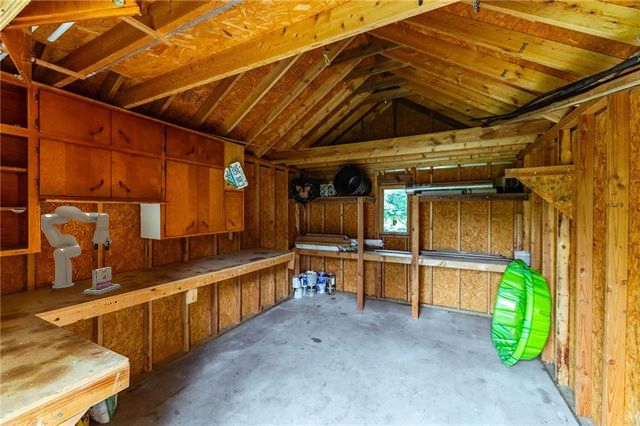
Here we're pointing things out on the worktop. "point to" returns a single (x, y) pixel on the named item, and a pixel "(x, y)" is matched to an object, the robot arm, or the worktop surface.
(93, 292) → the light blue tray
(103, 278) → the candy bar box
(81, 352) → the worktop surface
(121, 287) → the rubber mat
